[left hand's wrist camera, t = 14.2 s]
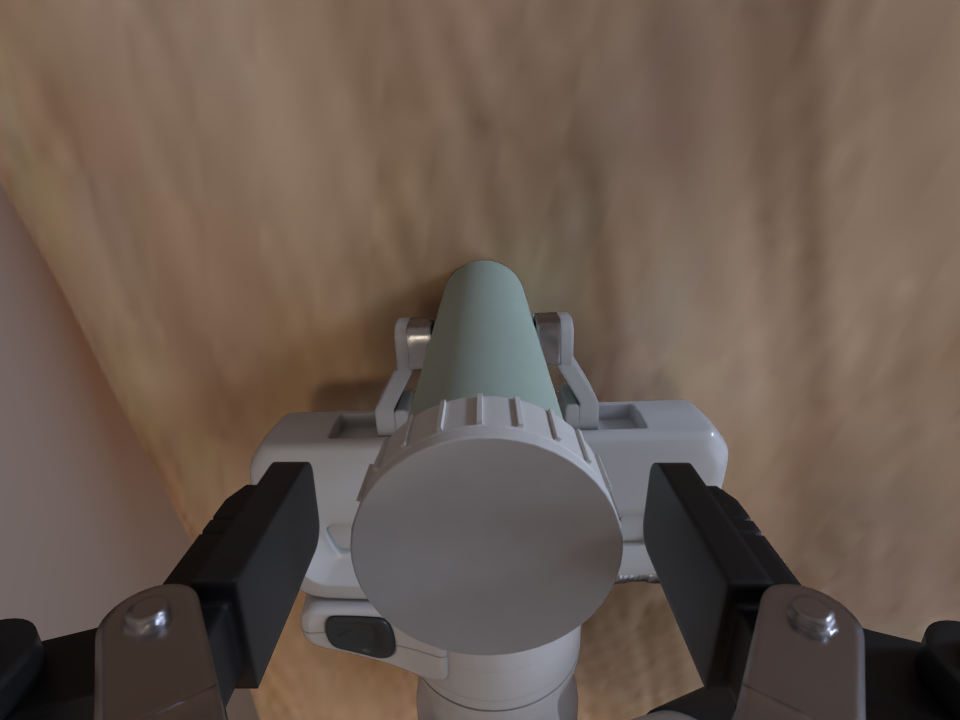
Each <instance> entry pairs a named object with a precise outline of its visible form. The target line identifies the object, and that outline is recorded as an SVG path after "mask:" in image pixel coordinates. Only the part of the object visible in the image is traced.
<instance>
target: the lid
mask: <svg viewBox="0 0 960 720" xmlns="http://www.w3.org/2000/svg"><path fill="white" fill-rule="evenodd" d="M611 491H612V487H611V485H610V482H609V480H608V477H607V474H606V472H605V469H604V467H603V464H602V462H601V459H600V457H599V455H598V454H596V455H594V454H593V452H592V450H591V448H590V447H589V446H588V444H587V443H586V442H585V440H584V437H583V435H582V432H581V430H580V429H579V428H577V429H576V430H575V429H574V428H572V427H571V426H570V425H569V424H568V423H566V422H565V421H564V420H562V419H561V418H560V417H558V416H556V415H555V412H554V410H553V409H551V408H549V409H548V411H547V410H546V409H544V408H541V407H539V406H536V405H534V404H531V403H528V402H524V401H521V400H520V397H517V396H515V397H514V399H513V398H506V397H498V396H482V393H477V396H475V397H466V398H460V399H456V400H451V401H447V402H446V400H445V399H444V400H441V401H440V404H439V405H436V406H433V407H431V408H429V409H427V410H425V411H423V412H421V413H419V414H417V415H416V416H413V415H412V414H411V415H410V416H408V419H407V422H406V423H404V424H403V425H402V426H401V427H400V428H399V429H398V430H397V431H396V432H394V433H393V435H392V436H391V437H390V438H388V437H387V436H386V437H385V439H384V440H383V443H382V446H381V449H380V451H379V454H378V456H377V458H376V460H375V463H374V465H373V464H369V467H368V470H367V472H366V475H365V478H364V480H363V483H362V486H361V489H360V491H359V494H358V497H357V500H356V501H359V502H360V504H359V507H358V510H357V512H356V515H355V518H354V521H353V524H352V527H351V543H350V549H351V559H352V564H353V568H354V572H355V576H356V578H357V580H358V583H359V585H360V587H361V589H362V591H363V592H364V594H365V596H366V597H367V599H368V601H369V602H370V603H371V604H372V606H373V607H374V608H375V609H376V610H377V612H378V613H379V614H380V615H382V616H383V617H384V618H385V619H386V620H387V621H388V622H389V623H390V624H392V625H393V626H394V627H396V628H397V629H399V630H400V631H401V632H403V633H405V634H407V635H408V636H410V637H412V638H414V639H416V640H418V641H420V642H422V643H425V644H427V645H429V646H433V647H436V648H439V649H442V650H446V651H450V652H455V653H460V654H469V655H504V654H512V653H518V652H523V651H527V650H531V649H534V648H538V647H541V646H543V645H546V644H548V643H551V642H553V641H555V640H557V639H559V638H561V637H563V636H565V635H567V634H569V633H570V632H571V631H573V630H574V629H576V628H577V627H579V626H580V625H582V624H583V623H584V622H585V621H586V620H587V619H588V618H590V617H591V616H592V615H593V614H594V613H595V612H596V610H597V609H598V608H599V607H600V606H601V605H602V604H603V602H604V601H605V599H606V598H607V596H608V595H609V593H610V591H611V589H612V587H613V585H614V583H615V581H616V579H617V576H618V572H619V569H620V566H621V560H622V553H623V535H622V530H621V525H620V522H621V516H620V514H619V511H618V508H617V506H616V503H615V501H614V498H613V495H612V493H611Z"/></svg>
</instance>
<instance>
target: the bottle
mask: <svg viewBox="0 0 960 720" xmlns="http://www.w3.org/2000/svg"><path fill="white" fill-rule="evenodd" d="M477 393H482V396H498V397H506V398H513V399H514V397H515V396H517V397H520V400H521V401H524V402H528V403H531V404H534V405H536V406H539V407H541V408H544V409H546V410H547V411H548V409H549V408H551V409H553V410H554V412H555V415H556V416H558V417H560V418H561V419H562V420H563V417H562V414H561V410H560V407H559V404H558V401H557V397H556V394H555V391H554V388H553V384H552V381H551V378H550V375H549V371H548V368H547V365H546V362H545V358H544V355H543V352H542V349H541V346H540V342H539V339H538V336H537V333H536V329H535V326H534V323H533V320H532V316H531V313H530V310H529V307H528V303H527V300H526V297H525V294H524V290H523V288H522V285H521V283H520V281H519V279H518V278H517V276H516V275H515V274H514V273H513V272H512V271H511V270H510V269H509V268H507V267H506V266H504V265H502V264H500V263H497V262H494V261H488V260H480V261H474V262H470V263H468V264H465V265H464V266H462V267H460V268H459V269H458V270H456V271H455V272H454V273H453V274H452V276H451V277H450V278H449V280H448V282H447V284H446V286H445V289H444V292H443V296H442V299H441V303H440V306H439V310H438V313H437V317H436V320H435V324H434V328H433V331H432V335H431V338H430V342H429V345H428V349H427V352H426V356H425V359H424V363H423V366H422V370H421V373H420V377H419V380H418V384H417V387H416V391H415V394H414V398H413V401H412V405H411V409H410V412H409V416H410V415H411V414H412V415H413V416H416V415H417V414H419V413H421V412H423V411H425V410H427V409H429V408H431V407H433V406H436V405H439V404H440V401H441V400H444V399H445V400H446V402H447V401H451V400H456V399H460V398H466V397H475V396H477Z"/></svg>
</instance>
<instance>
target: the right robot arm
mask: <svg viewBox="0 0 960 720" xmlns="http://www.w3.org/2000/svg"><path fill="white" fill-rule="evenodd" d="M533 323H534V326H535V329H536V333H537V336H538V339H539V342H540V346H541V349H542V352H543V355H544V358H545V362H546V365H557V367H558V368H559V370H560V372H561V373H562V375H563V377H564V378H565V380H566V381H567V383H568V384H561V385H560V386H559V395H558V404H559V407H560V410H561V414H562V417H563V420H564V421H565V422H566V423H568V424H569V425H570V426H571V427H572V428H574V429H575V430H576V429H577V428H579V429H580V430H581V432H582V435H583V437H584V440H585V442H586V443H587V444H588V446H589V447H590V448H591V450H592V452H593V454H594V455H596V454H598V455H599V457H600V459H601V462H602V464H603V467H604V469H605V472H606V474H607V477H608V480H609V482H610V485H611V487H612V491H611V493H612V495H613V498H614V501H615V503H616V506H617V508H618V511H619V514H620V516H621V522H620V525H621V530H622V535H623V553H622V560H621V566H620V569H619V572H618V576H617V579H616V581H615V583H614V584H621V583H626V582H632V581H633V582H637V581H638V582H641V581H646V582H647V583H660V581H659V579H658V576H657V574H656V572H655V569H654V567H653V565H652V562H651V560H650V558H649V555H648V553H647V550H646V547H645V542H644V535H643V520H644V512H645V504H646V497H647V489H648V482H649V474H650V469H651V466H652V464H653V463H690V464H692V466H693V467H694V468H695V470H696V471H697V473H698V474H699V476H700V477H701V479H702V480H703V481H704V483H705V484H706V486H717V487H719V488H720V489H721V488H722V484H723V480H724V476H725V471H726V467H727V461H728V449H727V445H726V443H725V441H724V439H723V437H722V436H721V434H720V433H719V431H718V430H717V429H716V427H715V426H714V425H713V424H712V422H711V421H710V420H709V419H708V418H707V417H706V416H705V415H704V414H703V413H702V412H701V411H700V410H699V409H698V408H697V407H696V406H695V405H694V404H692V403H691V402H689V401H687V400H652V401H622V402H598V400H597V398H596V396H595V393H594V391H593V389H592V387H591V385H590V383H589V381H588V379H587V378H586V376H585V374H584V373H583V371H582V370H581V368H580V366H579V365H578V363H577V361H576V360H575V358H574V356H573V340H574V327H573V320H572V317H571V316H570V314H569V312H548V313H534V314H533ZM433 328H434V318H433V317H418V318H410V317H407V318H398V320H397V322H396V324H395V329H394V341H395V351H396V360H397V364H396V366H395V368H394V370H393V372H392V374H391V376H390V378H389V380H388V382H387V384H386V386H385V388H384V390H383V392H382V394H381V397H380V399H379V401H378V404H377V406H376V408H375V410H353V411H323V412H294V413H289V414H286V415H285V416H283V417H282V418H281V419H280V420H279V422H278V423H277V424H276V425H275V426H274V427H273V428H272V429H271V431H270V432H269V433H268V434H267V435H266V437H265V438H264V439H263V441H262V442H261V444H260V445H259V447H258V448H257V450H256V452H255V454H254V456H253V458H252V461H251V465H250V477H251V483H252V485H257V484H258V482H259V481H260V479H261V478H262V476H263V475H264V473H265V472H266V471H267V469H268V468H269V466H270V465H271V464H272V463H273V462H309V463H310V464H311V466H312V469H313V475H314V483H315V491H316V498H317V506H318V514H319V523H320V530H319V539H318V544H317V548H316V551H315V554H314V556H313V558H312V561H311V563H310V565H309V568H308V570H307V573H306V575H305V577H304V580H303V582H302V584H301V587H300V590H301V591H303V592H305V593H307V595H306V598H305V603H304V607H303V611H302V616H301V625H302V630H303V633H304V636H305V637H306V639H307V640H308V641H309V642H311V643H312V644H314V645H317V646H320V647H323V648H328V649H332V650H337V651H342V652H347V653H351V654H355V655H360V656H364V657H367V658H371V659H375V660H378V661H382V662H385V663H388V664H391V665H394V666H397V667H400V668H402V669H404V670H407V671H409V672H412V673H414V674H416V675H419V680H418V687H417V713H418V720H577V714H578V694H577V684H576V680H575V676H574V671H575V668H576V665H577V662H578V657H579V651H580V638H581V625H580V626H579V627H577V628H576V629H574V630H573V631H571V632H570V633H569V634H567V635H565V636H563V637H561V638H559V639H557V640H555V641H553V642H551V643H548V644H546V645H543V646H541V647H538V648H534V649H531V650H527V651H523V652H518V653H512V654H504V655H469V654H460V653H455V652H450V651H446V650H442V649H439V648H436V647H433V646H429V645H427V644H425V643H422V642H420V641H418V640H416V639H414V638H412V637H410V636H408V635H407V634H405V633H403V632H401V631H400V630H399V629H397V628H396V627H394V626H393V625H392V624H390V623H389V622H388V621H387V620H386V619H385V618H384V617H383V616H382V615H380V614H379V613H378V612H377V610H376V609H375V608H374V607H373V606H372V604H371V603H370V602H369V601H368V599H367V597H366V596H365V594H364V592H363V591H362V589H361V587H360V585H359V583H358V580H357V578H356V576H355V572H354V568H353V564H352V559H351V549H350V543H351V527H352V524H353V521H354V518H355V515H356V512H357V510H358V507H359V504H360V502H359V501H356V500H357V497H358V494H359V491H360V489H361V486H362V483H363V480H364V478H365V475H366V472H367V470H368V467H369V464H373V465H374V463H375V460H376V458H377V456H378V454H379V451H380V449H381V446H382V443H383V440H384V439H385V437H386V436H387V437H388V438H390V437H391V436H392V435H393V433H394V432H396V431H397V430H398V429H399V428H400V427H401V426H402V425H403V424H404V423H406V422H407V419H408V416H409V412H410V409H411V405H412V401H413V398H414V391H413V390H404V388H405V386H406V384H407V382H408V380H409V378H410V376H411V374H412V372H413V370H416V369H422V366H423V363H424V359H425V356H426V352H427V349H428V345H429V342H430V338H431V335H432V331H433ZM735 704H736V703H735V701H734V699H733V697H732V695H731V692H730V690H706V689H705V687H702V688H700V689H698V690H695V691H693V692H691V693H689V694H686V695H684V696H682V697H679V698H677V699H675V700H673V701H670V702H668V703H666V704H664V705H661V706H659V707H657V708H655V709H653V710H651V711H649V712H648V713H647V714H646V715H644V716H640V717H637V718H634V719H631V720H732V716H733V712H734V708H735Z"/></svg>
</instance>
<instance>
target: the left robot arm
mask: <svg viewBox="0 0 960 720" xmlns="http://www.w3.org/2000/svg"><path fill="white" fill-rule="evenodd" d="M319 530H320V523H319V514H318V506H317V498H316V491H315V483H314V475H313V469H312V466H311V464H310V463H309V462H273V463H272V464H271V465H270V466H269V468H268V469H267V471H266V472H265V473H264V475H263V476H262V478H261V479H260V481H259V482H258V484H257V485H246V486H244V487H243V488H242V489H240V490H239V491H237V492H236V493H234V494H233V495H232V496H230V497H229V498H227V499H226V500H225V502H224V503H223V504H222V506H221V507H220V508H219V510H218V511H217V512H216V514H215V515H214V516H213V520H210V522H209V523H208V524H207V526H206V527H205V528H204V530H203V533H202V534H200V535H199V536H198V538H197V539H196V540H195V542H194V543H193V544H192V546H191V547H190V548H189V550H188V551H187V552H186V554H185V555H184V556H183V558H182V559H181V560H180V562H179V563H178V564H177V566H176V567H175V568H174V570H173V571H172V572H171V574H170V575H169V577H168V578H167V579H166V581H165V582H164V583H163V585H159V586H155V587H152V588H148V589H145V590H143V591H141V592H138V593H136V594H134V595H132V596H130V597H129V598H127V599H126V600H124V601H122V602H121V603H120V604H118V605H117V606H116V607H114V608H113V609H112V610H111V611H110V612H109V613H108V614H107V615H106V616H105V618H104V619H103V620H102V622H101V623H100V625H99V627H98V628H94V629H91V630H87V631H82V632H78V633H74V634H70V635H66V636H62V637H58V638H54V639H49V640H45V641H41V640H40V637H39V634H38V632H37V629H36V627H35V626H34V624H33V623H31V622H30V621H28V620H24V619H17V618H13V619H3V620H0V720H228V716H227V712H226V706H227V704H228V702H229V700H230V697H231V695H232V693H233V691H234V689H235V688H258V687H259V685H260V682H261V680H262V677H263V675H264V673H265V670H266V668H267V665H268V663H269V661H270V658H271V656H272V654H273V651H274V649H275V646H276V644H277V642H278V639H279V637H280V635H281V632H282V630H283V627H284V625H285V623H286V620H287V618H288V615H289V613H290V611H291V608H292V606H293V604H294V601H295V599H296V596H297V594H298V592H299V589H300V587H301V584H302V582H303V580H304V577H305V575H306V573H307V570H308V568H309V565H310V563H311V561H312V558H313V556H314V554H315V551H316V548H317V544H318V539H319ZM643 535H644V542H645V547H646V550H647V553H648V555H649V558H650V560H651V562H652V565H653V567H654V569H655V572H656V574H657V576H658V579H659V581H660V583H661V586H662V588H663V590H664V593H665V595H666V597H667V600H668V602H669V605H670V607H671V609H672V612H673V614H674V616H675V619H676V621H677V623H678V626H679V628H680V630H681V633H682V635H683V637H684V640H685V642H686V644H687V647H688V649H689V652H690V654H691V656H692V659H693V661H694V663H695V666H696V668H697V670H698V673H699V675H700V677H701V680H702V682H703V684H704V687H705V689H706V690H730V692H731V695H732V697H733V699H734V701H735V703H736V704H735V708H734V712H733V716H732V720H960V622H958V621H949V620H946V621H938V622H934V623H932V624H931V625H929V626H928V628H927V629H926V631H925V634H924V636H923V639H922V641H921V643H920V642H916V641H912V640H908V639H903V638H899V637H895V636H891V635H887V634H883V633H879V632H875V631H871V630H867V629H864V628H862V627H861V625H860V623H859V622H858V620H857V619H856V618H855V616H854V615H853V614H852V613H851V612H850V611H849V610H848V609H847V608H846V607H844V606H843V605H842V604H840V603H839V602H838V601H836V600H835V599H833V598H831V597H830V596H828V595H826V594H824V593H822V592H819V591H817V590H815V589H812V588H809V587H805V586H801V584H800V583H799V582H798V580H797V579H796V578H795V576H794V575H793V574H792V572H791V571H790V570H789V568H788V567H787V566H786V564H785V563H784V562H783V560H782V559H781V558H780V556H779V555H778V554H777V552H776V551H775V550H774V549H773V547H772V546H771V545H770V543H769V542H768V541H767V539H766V538H765V537H764V536H762V535H761V531H760V530H759V529H758V527H757V526H756V525H755V523H754V522H753V521H750V517H749V515H748V514H747V513H746V511H745V510H744V509H743V507H742V506H741V505H740V503H739V502H738V501H737V500H736V499H734V498H733V497H732V496H730V495H729V494H727V493H726V492H725V491H723V490H722V489H720V488H719V487H717V486H706V484H705V483H704V481H703V480H702V479H701V477H700V476H699V474H698V473H697V471H696V470H695V468H694V467H693V466H692V464H690V463H653V464H652V466H651V469H650V474H649V482H648V489H647V497H646V504H645V512H644V520H643Z"/></svg>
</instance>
